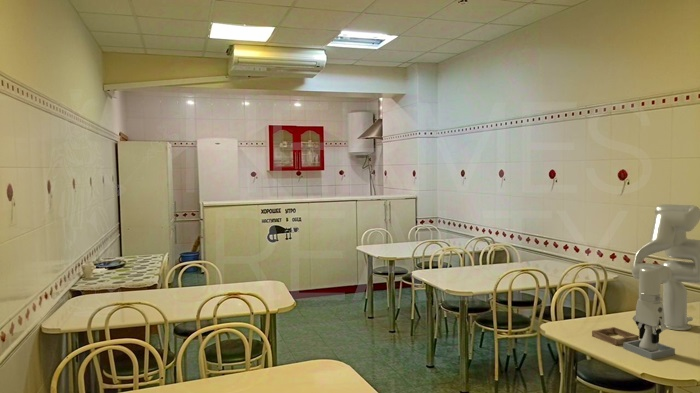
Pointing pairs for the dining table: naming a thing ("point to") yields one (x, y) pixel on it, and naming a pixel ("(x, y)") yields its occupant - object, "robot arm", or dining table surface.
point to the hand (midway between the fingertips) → (648, 340)
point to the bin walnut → (603, 336)
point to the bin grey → (662, 352)
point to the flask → (648, 340)
